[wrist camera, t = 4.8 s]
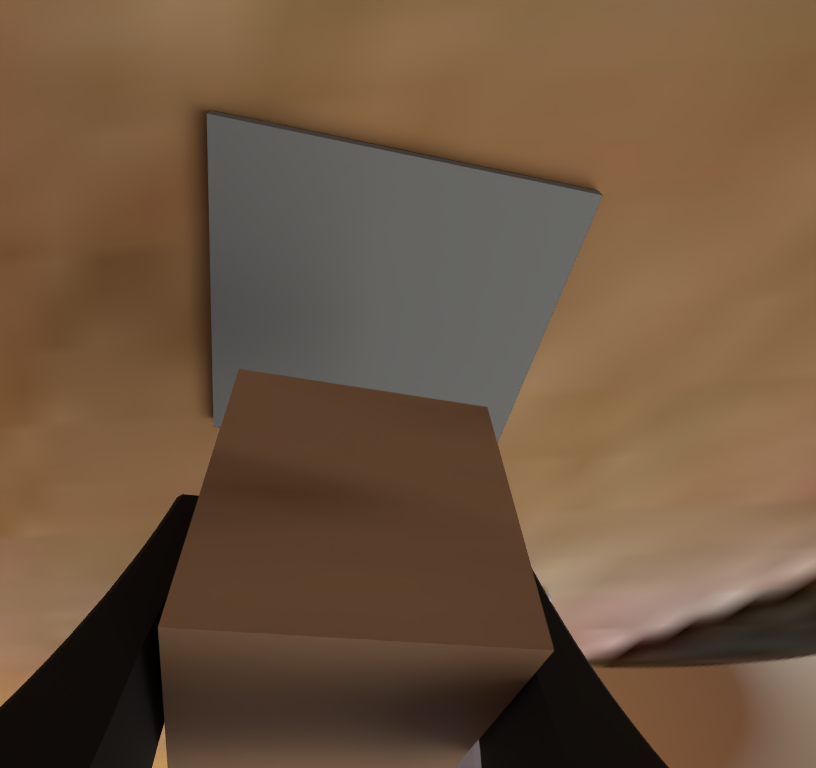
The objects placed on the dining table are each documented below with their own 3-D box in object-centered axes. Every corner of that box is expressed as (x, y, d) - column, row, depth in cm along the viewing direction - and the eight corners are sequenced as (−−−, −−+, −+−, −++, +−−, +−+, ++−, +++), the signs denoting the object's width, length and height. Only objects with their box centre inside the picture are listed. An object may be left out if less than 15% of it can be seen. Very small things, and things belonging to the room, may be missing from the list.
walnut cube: (424, 548, 15) (447, 775, 11) (227, 529, 14) (167, 774, 10) (487, 407, 12) (554, 650, 8) (238, 369, 11) (157, 627, 7)
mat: (488, 452, 22) (490, 459, 22) (216, 420, 20) (213, 426, 20) (598, 190, 16) (602, 195, 15) (210, 110, 14) (206, 113, 14)
